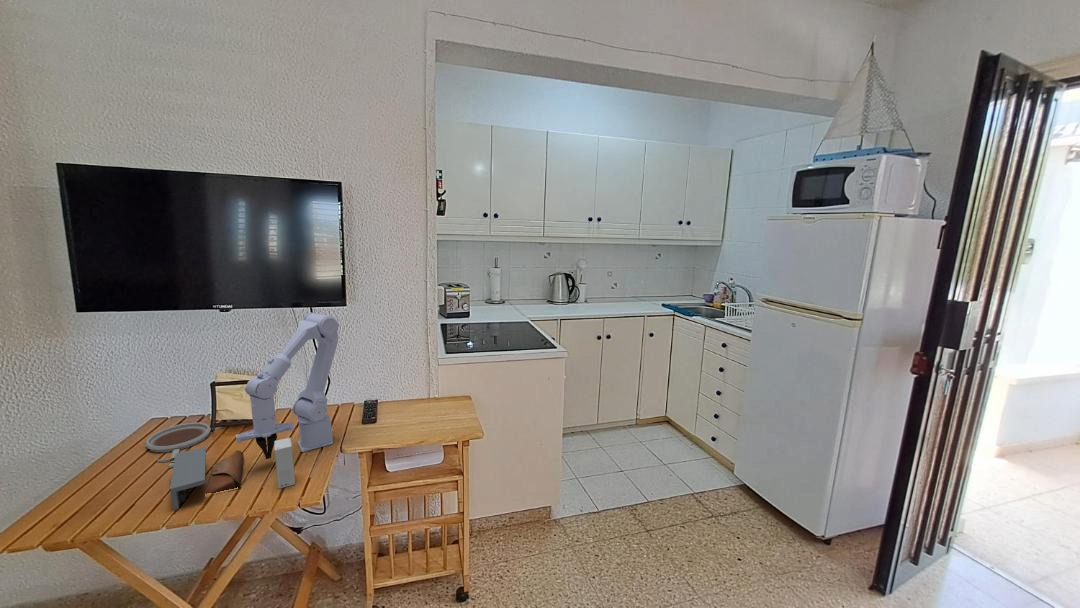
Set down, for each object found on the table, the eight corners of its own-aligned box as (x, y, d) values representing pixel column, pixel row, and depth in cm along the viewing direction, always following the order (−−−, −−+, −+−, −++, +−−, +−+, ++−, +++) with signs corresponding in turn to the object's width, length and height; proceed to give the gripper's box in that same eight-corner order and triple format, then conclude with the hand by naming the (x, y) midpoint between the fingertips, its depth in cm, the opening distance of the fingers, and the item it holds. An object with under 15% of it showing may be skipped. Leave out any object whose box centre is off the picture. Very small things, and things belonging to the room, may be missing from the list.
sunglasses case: (210, 465, 131) (221, 445, 131) (235, 470, 134) (246, 450, 135) (202, 498, 116) (215, 475, 116) (231, 503, 120) (244, 481, 120)
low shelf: (208, 465, 131) (205, 446, 129) (207, 500, 115) (204, 479, 114) (178, 472, 126) (175, 453, 125) (173, 510, 111) (170, 489, 110)
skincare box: (295, 484, 122) (291, 446, 120) (278, 489, 120) (274, 450, 118) (294, 473, 128) (290, 436, 125) (277, 478, 125) (273, 440, 123)
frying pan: (132, 471, 123) (149, 428, 146) (133, 480, 124) (150, 436, 147) (206, 454, 133) (212, 416, 155) (207, 462, 133) (213, 424, 156)
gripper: (234, 427, 121) (240, 471, 124) (293, 414, 130) (297, 455, 132) (233, 418, 126) (238, 460, 129) (290, 406, 135) (293, 445, 138)
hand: (268, 457), depth 131 cm, fingers closed
